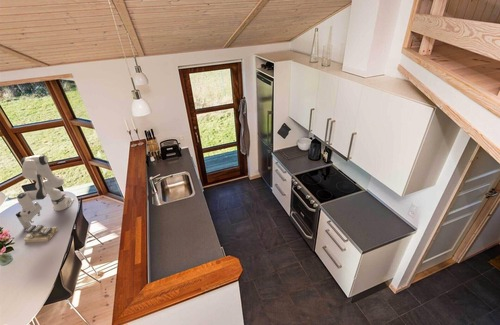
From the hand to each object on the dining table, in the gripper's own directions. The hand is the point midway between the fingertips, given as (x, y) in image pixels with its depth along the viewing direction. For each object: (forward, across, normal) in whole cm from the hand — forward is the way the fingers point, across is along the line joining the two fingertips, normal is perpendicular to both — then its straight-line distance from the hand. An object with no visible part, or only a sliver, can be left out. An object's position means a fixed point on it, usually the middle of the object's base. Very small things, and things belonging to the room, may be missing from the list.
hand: (36, 218), depth 240 cm
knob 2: (+19, 0, -3) cm, 19 cm away
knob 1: (+19, 0, -10) cm, 21 cm away
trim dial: (+19, +6, -7) cm, 21 cm away
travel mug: (+23, -14, -27) cm, 38 cm away
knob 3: (+23, 0, +4) cm, 23 cm away
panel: (+23, 0, -3) cm, 23 cm away
